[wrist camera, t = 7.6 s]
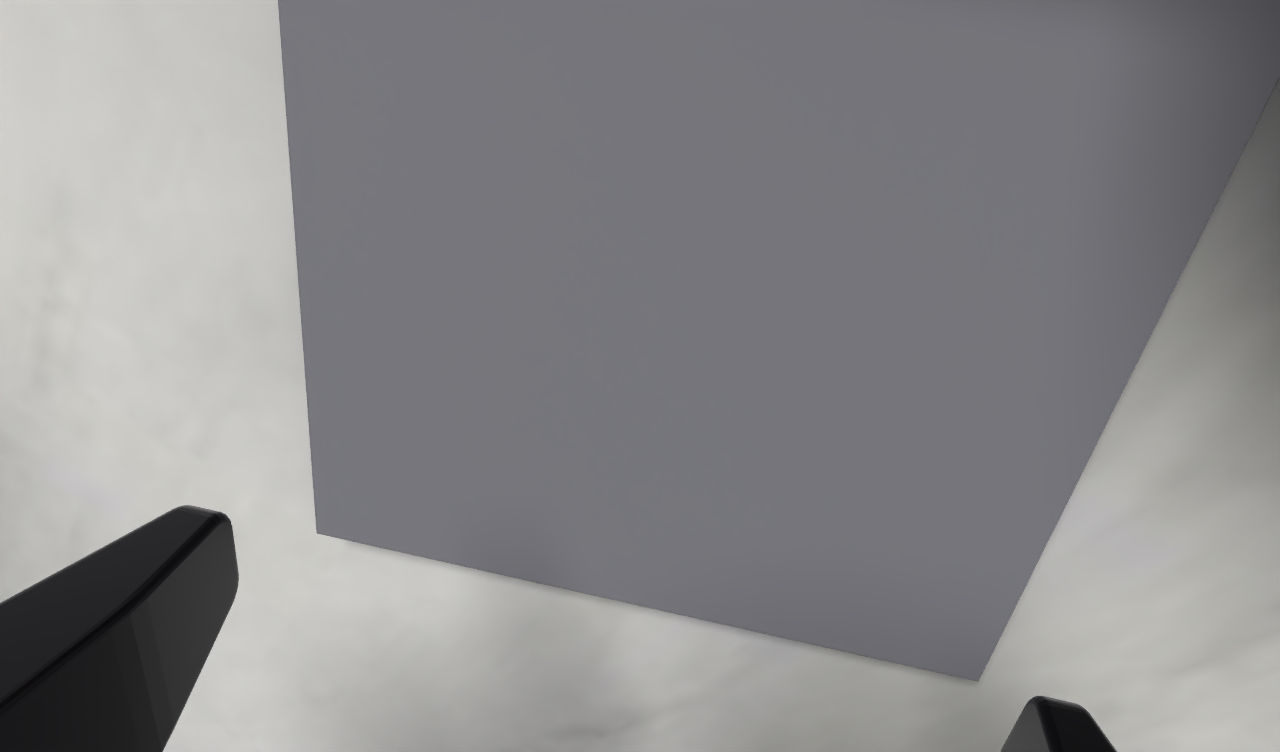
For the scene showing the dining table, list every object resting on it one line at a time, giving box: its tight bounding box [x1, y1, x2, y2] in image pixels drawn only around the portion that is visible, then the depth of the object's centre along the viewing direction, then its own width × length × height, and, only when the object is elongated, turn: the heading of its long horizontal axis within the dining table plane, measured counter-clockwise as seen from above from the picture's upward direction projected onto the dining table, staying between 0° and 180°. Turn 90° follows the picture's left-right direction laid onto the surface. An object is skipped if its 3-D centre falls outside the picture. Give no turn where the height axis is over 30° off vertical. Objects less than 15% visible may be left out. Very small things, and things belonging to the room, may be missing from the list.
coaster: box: [278, 0, 1280, 681], centre depth 14 cm, size 11×11×1 cm
